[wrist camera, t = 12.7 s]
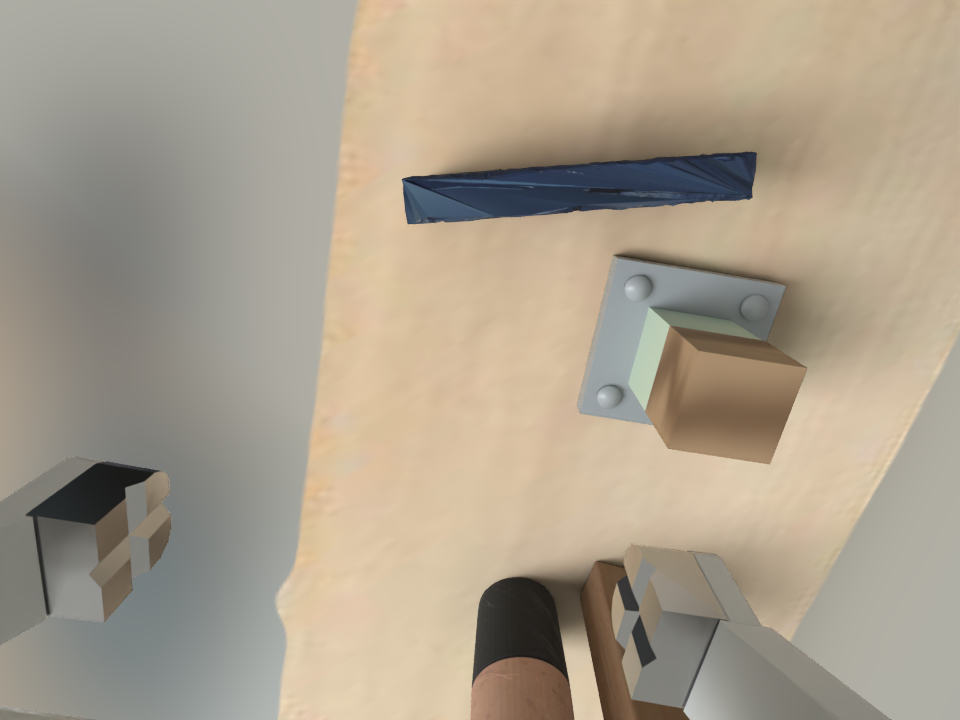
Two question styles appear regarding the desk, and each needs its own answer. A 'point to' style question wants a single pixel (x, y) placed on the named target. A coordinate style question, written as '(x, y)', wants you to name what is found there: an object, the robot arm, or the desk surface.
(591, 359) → the base plate
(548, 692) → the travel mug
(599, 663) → the wooden block
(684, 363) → the walnut brick
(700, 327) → the green brick
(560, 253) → the desk surface
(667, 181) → the vhs cassette tape
